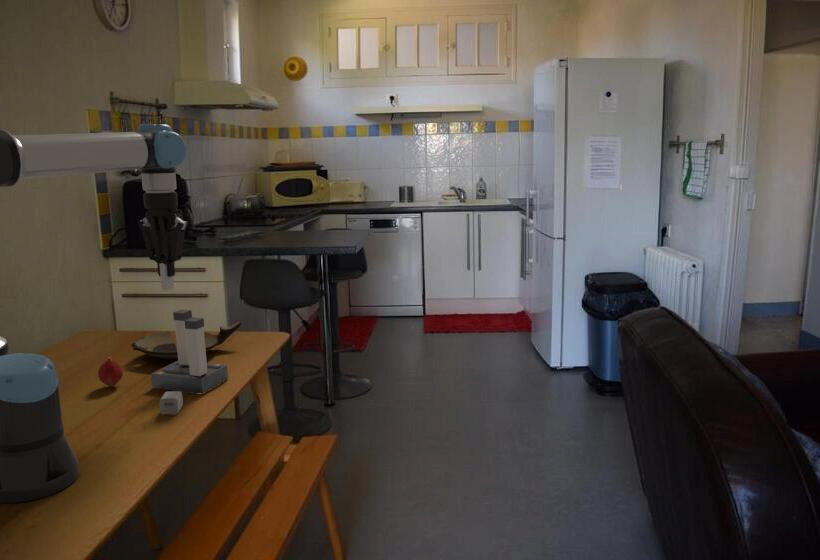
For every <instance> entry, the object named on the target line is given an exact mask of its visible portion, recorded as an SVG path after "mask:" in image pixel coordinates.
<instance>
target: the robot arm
mask: <svg viewBox="0 0 820 560" xmlns="http://www.w3.org/2000/svg"><path fill="white" fill-rule="evenodd" d="M186 156H187V148H186V142H185V140H184V139H183V137H182V136H181V135H180V134H179V133H177V132H175V131H173V130H172V127H171V126H170V125H169V124H165V123H164V124H163V123H157V124H155V123H143V124H142V123H141V124H139V125H138V126H137V131H125V132H123V131H122V132H120V131H119V132H118V131H117V132H116V131H115V132H113V131H105V132H104V131H103V132H90V133H89V132H88V133H87V132H86V133H85V132H84V133H83V132H81V133H53V134H17V135H14V134H11V133H10V132H9V131H8V130H5V129H0V188H6V187H14V186H16V185H17V184H18V183H19V182H20V181H21V180H29V179H39V178H52V177H62V176H75V175H86V174H97V173H108V172H109V173H110V172H122V171H133V170H141V171H140V173H141V184H142V190H143V191H145V192H144V193H143V194H142V197H143V206H144V209H146V212H145V217H143V218H142V219H141V220H137V225H138V227H139V229H140V230H141V233H142V237H143V241H144V243H145V244H144V245H145V247H146V250H147V251H146V252H147V255H148V258H149V260H150V261H154V262H155V263H157V264H156V265H157V275H158V276H159V277H160V288H161V291H164V292H165V291H166V292H168V291H170V290H174V289H175V283H174V282H175V281H174V277H175V275H176V270H175V269H176V268H175V263H176V262H178V261H182V257H183V248H184V243H185V242H184V240H185V233H186V229H187V228H188V225H189V222H188V221H187V220H183V219H181V218H180V215H179V213H178V209H177V208H178V207H179V200H178V199H179V198H178V193H177V192H176V191H175V190H177V188H178V187H177V178H176V168H177V167H179V166H180V165H182V164H183V162H184V161H185V159H186ZM55 367H56V366H55V364H54V362H53V361H52V360H51V359H50V358H48V357H47V356H45V355H42V354H37V353H23V352H18V353H16V352H15V353H11V352H10V348H9V345H8V341H7V339H6V338H5V337H3V336H1V335H0V503H5V504H7V503H8V504H11V503H12V504H15V503H25V502H30V501H31V502H32V501H34V500H35V501H36V500H39V499H43V498H45V497H48V496H51V495H54V494H56V493H58V492H60V491H62V490H64V489H66V488H68V487H70V486H71V485H72V484H73V483H75V482H76V481H77V479H78V478H79V476H80V474H81V470H80V464H79V463H80V462H79V459H78V458H77V455H76V453H75V452H74V450H73V448H72V447H71V444H70V443H69V441H68V439H67V437H66V435H65V430H64V422H63V413H62V408H61V406H62V405H61V398H60V390H59V377H58V373H57V372H56V368H55Z"/></svg>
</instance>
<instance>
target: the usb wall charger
mask: <svg viewBox="0 0 820 560" xmlns="http://www.w3.org/2000/svg"><path fill="white" fill-rule="evenodd" d="M183 406H184V400H183V392H180V391H165V392H164V394H163V395H162V397H160V400H159V408H160V413H161V415H163V416H165V415H164V414H171V415H177V413H178V414H179V412H180V411H181V409H182V408H183Z"/></svg>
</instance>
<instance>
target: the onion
mask: <svg viewBox="0 0 820 560" xmlns="http://www.w3.org/2000/svg"><path fill="white" fill-rule="evenodd" d="M123 370H124V369H123V367H122V365H120V363H119V362H118V361H115V360H113V359H112V357H111V356H109V357H107V359H106V360H105V361H104V362H103V363H102V364H101V365H100V367H99V369H98V371H97V372H98V373H97V377H98V380H99V381H100V382H101V383H102V384H104V385H106V386H108V387H110V388H114V387H115V386H116V385H117V384H118V383H119V382H120V381H121V380H122V378H123V375H124V371H123Z"/></svg>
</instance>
